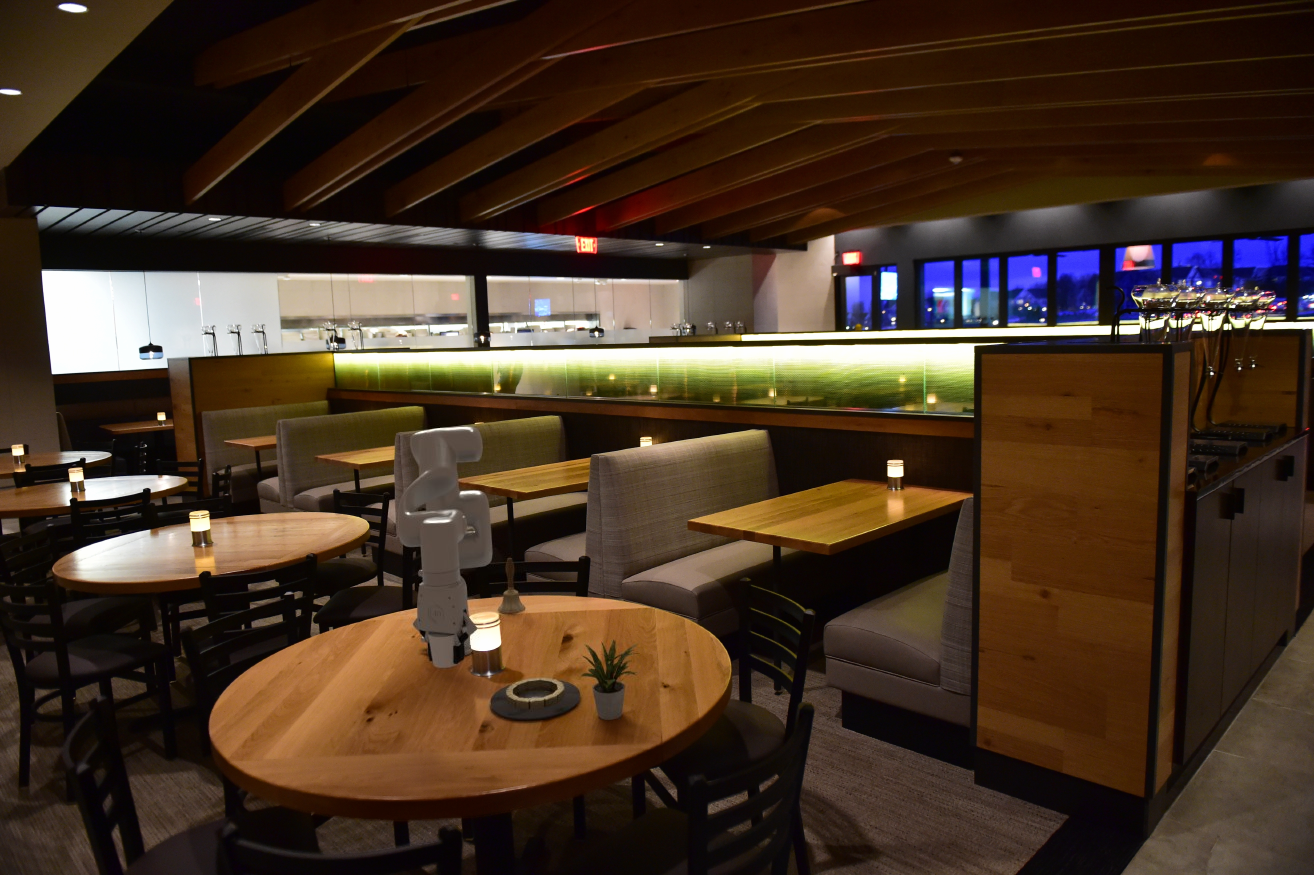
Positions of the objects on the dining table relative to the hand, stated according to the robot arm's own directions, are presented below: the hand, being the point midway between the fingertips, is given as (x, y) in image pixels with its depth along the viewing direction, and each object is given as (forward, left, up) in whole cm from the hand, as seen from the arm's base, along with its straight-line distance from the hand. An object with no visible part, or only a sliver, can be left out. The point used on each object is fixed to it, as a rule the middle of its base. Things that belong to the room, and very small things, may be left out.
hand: (446, 659), depth 178 cm
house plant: (+32, +13, -15) cm, 38 cm away
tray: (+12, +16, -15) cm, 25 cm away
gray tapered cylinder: (0, 0, -1) cm, 1 cm away
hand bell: (-25, +74, -15) cm, 79 cm away
